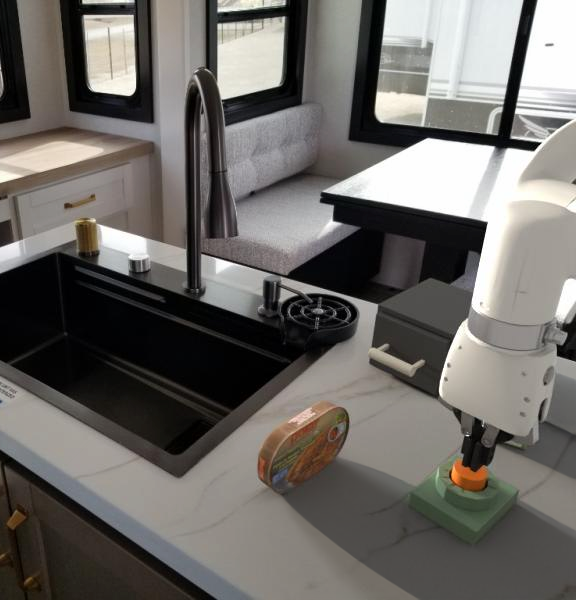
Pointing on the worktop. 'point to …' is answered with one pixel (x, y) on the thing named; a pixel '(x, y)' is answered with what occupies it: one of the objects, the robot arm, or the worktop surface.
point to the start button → (468, 477)
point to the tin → (302, 446)
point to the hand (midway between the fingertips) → (474, 463)
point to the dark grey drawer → (409, 351)
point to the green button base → (462, 503)
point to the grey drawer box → (431, 308)
